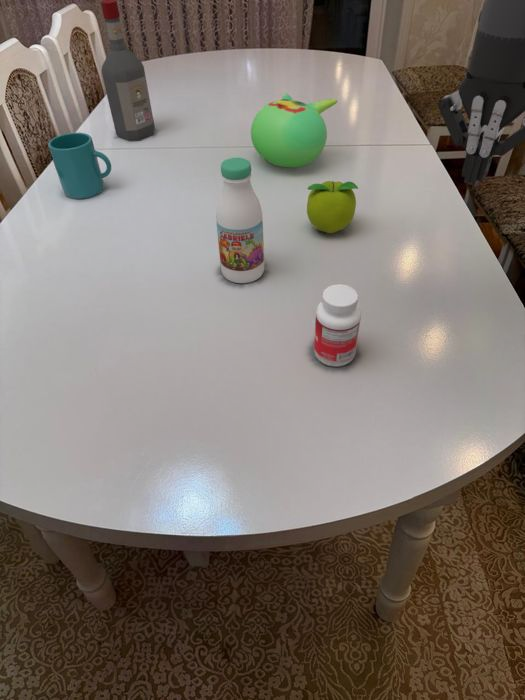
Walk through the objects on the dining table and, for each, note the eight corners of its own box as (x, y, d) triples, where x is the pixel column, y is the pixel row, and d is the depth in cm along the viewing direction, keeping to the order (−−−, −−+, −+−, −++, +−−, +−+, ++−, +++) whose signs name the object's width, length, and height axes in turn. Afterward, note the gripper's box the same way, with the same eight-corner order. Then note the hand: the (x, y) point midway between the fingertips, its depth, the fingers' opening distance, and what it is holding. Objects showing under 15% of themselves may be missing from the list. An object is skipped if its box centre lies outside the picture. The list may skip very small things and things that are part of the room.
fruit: (351, 243, 94) (357, 194, 87) (303, 239, 96) (304, 191, 89) (355, 218, 101) (360, 171, 94) (309, 215, 102) (311, 168, 95)
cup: (112, 199, 109) (98, 149, 101) (58, 200, 110) (41, 149, 102) (122, 180, 116) (110, 131, 108) (71, 181, 116) (56, 132, 108)
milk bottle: (220, 261, 91) (209, 154, 77) (262, 257, 92) (258, 150, 78) (222, 286, 86) (210, 176, 72) (266, 282, 86) (263, 172, 72)
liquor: (159, 132, 135) (136, 0, 114) (133, 143, 131) (104, 7, 110) (138, 124, 140) (112, -4, 119) (112, 135, 135) (80, 3, 114)
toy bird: (238, 164, 120) (234, 100, 109) (282, 141, 129) (282, 79, 118) (297, 186, 111) (299, 118, 101) (340, 159, 120) (346, 94, 110)
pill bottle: (322, 334, 77) (327, 276, 69) (360, 345, 75) (369, 287, 67) (307, 360, 73) (309, 302, 65) (346, 373, 71) (354, 314, 63)
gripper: (593, 25, 51) (533, 183, 64) (468, 11, 57) (435, 158, 70) (573, 42, 47) (514, 207, 59) (441, 25, 53) (411, 179, 65)
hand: (471, 181), depth 64 cm, fingers closed
